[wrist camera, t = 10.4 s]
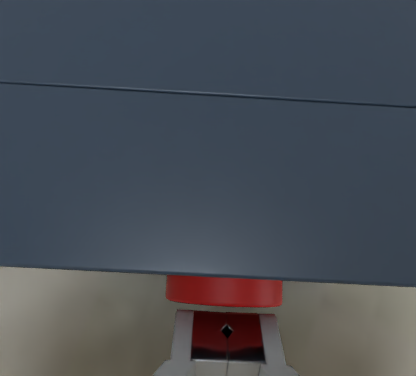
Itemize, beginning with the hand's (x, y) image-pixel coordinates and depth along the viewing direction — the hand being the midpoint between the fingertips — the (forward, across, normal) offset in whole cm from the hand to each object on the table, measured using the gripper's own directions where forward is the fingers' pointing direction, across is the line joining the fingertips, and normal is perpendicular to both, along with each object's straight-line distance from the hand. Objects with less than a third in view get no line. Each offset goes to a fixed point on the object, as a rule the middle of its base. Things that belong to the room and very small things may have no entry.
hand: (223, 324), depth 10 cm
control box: (+8, 0, +1) cm, 9 cm away
